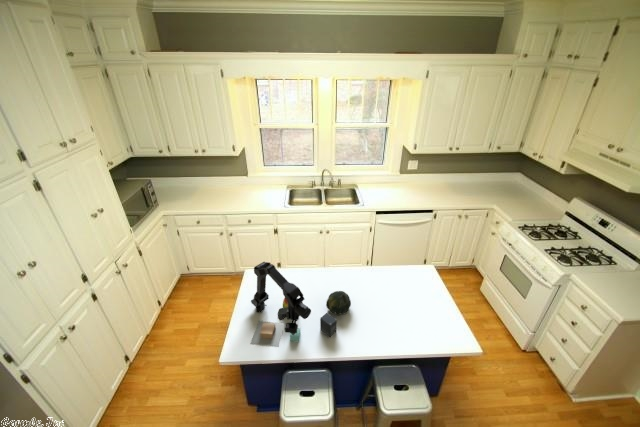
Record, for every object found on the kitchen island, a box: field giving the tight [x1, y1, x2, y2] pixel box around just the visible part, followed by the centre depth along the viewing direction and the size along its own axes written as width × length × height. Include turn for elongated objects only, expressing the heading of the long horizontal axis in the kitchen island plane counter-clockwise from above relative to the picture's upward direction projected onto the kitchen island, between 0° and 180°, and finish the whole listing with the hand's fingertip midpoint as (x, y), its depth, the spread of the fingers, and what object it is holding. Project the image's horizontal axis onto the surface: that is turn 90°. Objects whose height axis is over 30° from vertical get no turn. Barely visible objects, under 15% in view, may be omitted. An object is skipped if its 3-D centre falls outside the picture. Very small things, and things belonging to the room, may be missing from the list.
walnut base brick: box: [260, 323, 276, 339], centre depth 168 cm, size 7×7×4 cm
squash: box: [325, 290, 352, 316], centre depth 182 cm, size 14×15×15 cm
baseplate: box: [250, 320, 286, 348], centre depth 169 cm, size 16×16×1 cm
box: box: [319, 312, 338, 339], centre depth 168 cm, size 8×6×11 cm
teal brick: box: [289, 327, 302, 343], centre depth 165 cm, size 5×5×6 cm
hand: (294, 327), depth 162 cm, fingers open, 9 cm apart
